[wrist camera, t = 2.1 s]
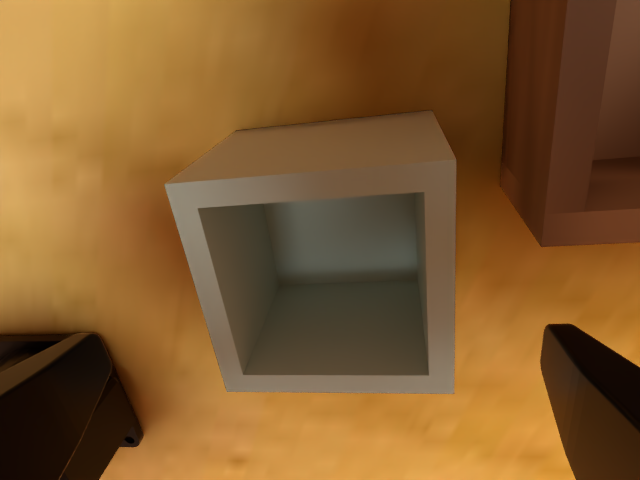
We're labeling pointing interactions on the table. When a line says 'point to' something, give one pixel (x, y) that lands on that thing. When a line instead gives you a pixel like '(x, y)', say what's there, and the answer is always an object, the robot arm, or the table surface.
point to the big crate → (574, 120)
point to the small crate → (326, 254)
